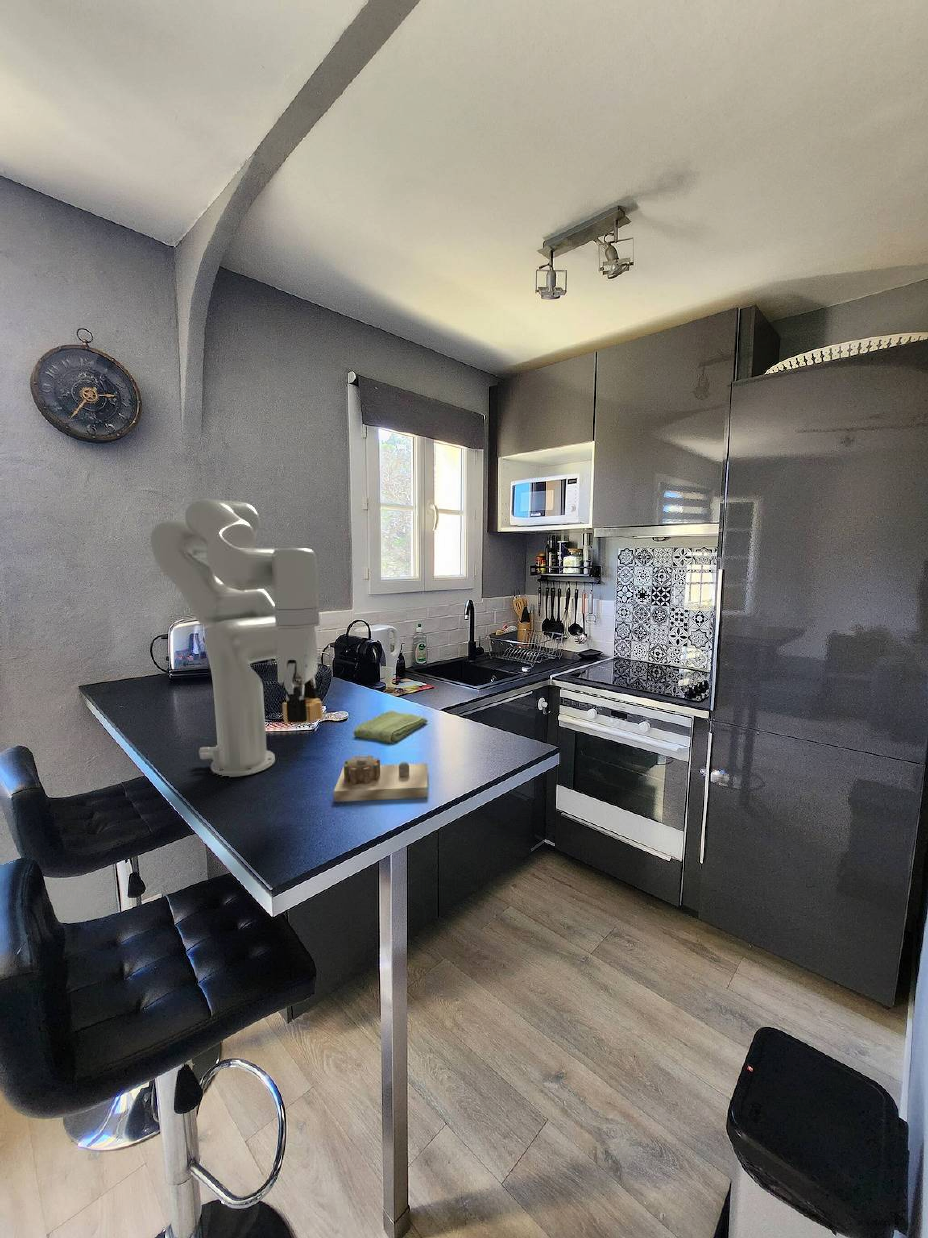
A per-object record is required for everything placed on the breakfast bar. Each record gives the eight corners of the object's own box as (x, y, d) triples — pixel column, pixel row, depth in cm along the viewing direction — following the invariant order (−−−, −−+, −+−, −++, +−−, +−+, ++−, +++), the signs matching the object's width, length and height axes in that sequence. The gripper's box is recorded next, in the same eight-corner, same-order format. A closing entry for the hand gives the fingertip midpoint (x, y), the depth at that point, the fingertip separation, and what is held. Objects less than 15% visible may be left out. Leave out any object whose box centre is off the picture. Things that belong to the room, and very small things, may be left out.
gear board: (334, 801, 92) (332, 773, 91) (344, 776, 102) (342, 750, 102) (427, 797, 93) (427, 769, 92) (427, 772, 104) (427, 746, 103)
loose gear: (278, 725, 88) (277, 708, 88) (289, 713, 95) (288, 698, 95) (317, 723, 89) (316, 707, 88) (325, 712, 95) (325, 696, 95)
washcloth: (430, 724, 135) (429, 712, 135) (393, 746, 119) (393, 733, 119) (389, 718, 141) (388, 707, 140) (349, 739, 125) (348, 726, 124)
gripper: (290, 613, 98) (295, 702, 100) (259, 624, 81) (266, 732, 83) (329, 612, 99) (333, 701, 101) (306, 623, 81) (312, 730, 83)
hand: (302, 714), depth 92 cm, fingers closed on loose gear, 6 cm apart
